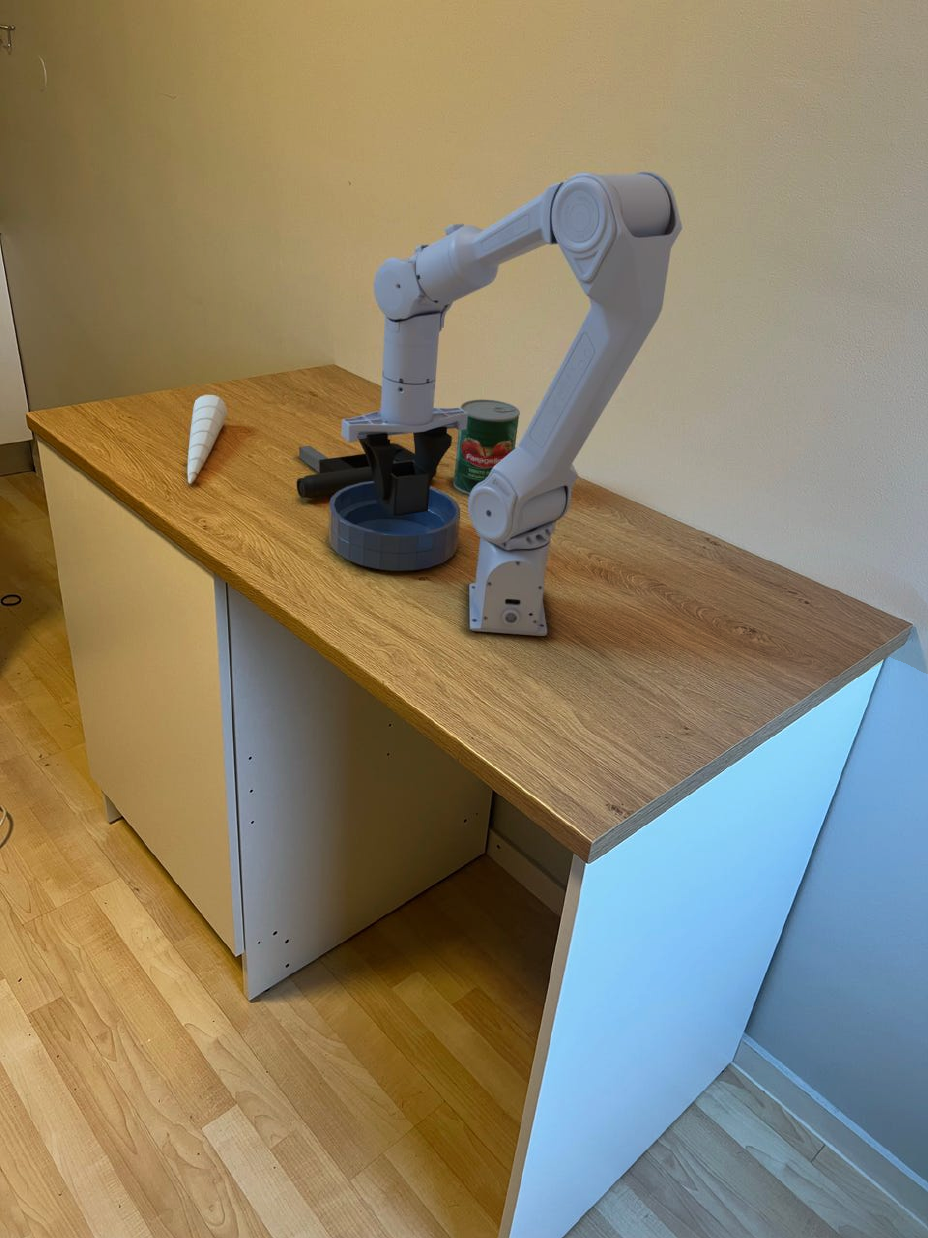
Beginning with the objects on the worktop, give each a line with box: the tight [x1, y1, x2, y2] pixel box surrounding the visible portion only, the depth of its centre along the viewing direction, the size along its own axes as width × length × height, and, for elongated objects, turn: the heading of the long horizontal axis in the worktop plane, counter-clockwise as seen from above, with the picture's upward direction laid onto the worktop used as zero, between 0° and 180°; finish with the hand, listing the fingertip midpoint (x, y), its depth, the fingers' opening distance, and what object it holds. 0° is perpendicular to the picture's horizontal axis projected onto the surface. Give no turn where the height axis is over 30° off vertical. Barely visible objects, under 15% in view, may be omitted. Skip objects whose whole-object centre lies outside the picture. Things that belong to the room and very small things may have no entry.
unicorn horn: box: [187, 394, 228, 485], centre depth 128 cm, size 5×24×5 cm, turn 3°
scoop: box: [377, 460, 431, 516], centre depth 107 cm, size 8×4×5 cm, turn 30°
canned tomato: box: [452, 399, 521, 496], centre depth 126 cm, size 8×8×11 cm
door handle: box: [296, 442, 438, 500], centre depth 127 cm, size 3×20×16 cm
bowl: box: [327, 481, 461, 572], centre depth 110 cm, size 15×15×5 cm
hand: (401, 493), depth 106 cm, fingers closed on scoop, 4 cm apart
